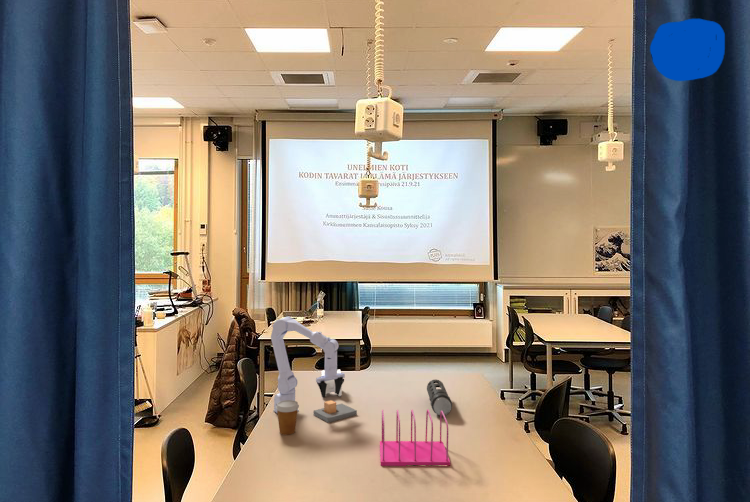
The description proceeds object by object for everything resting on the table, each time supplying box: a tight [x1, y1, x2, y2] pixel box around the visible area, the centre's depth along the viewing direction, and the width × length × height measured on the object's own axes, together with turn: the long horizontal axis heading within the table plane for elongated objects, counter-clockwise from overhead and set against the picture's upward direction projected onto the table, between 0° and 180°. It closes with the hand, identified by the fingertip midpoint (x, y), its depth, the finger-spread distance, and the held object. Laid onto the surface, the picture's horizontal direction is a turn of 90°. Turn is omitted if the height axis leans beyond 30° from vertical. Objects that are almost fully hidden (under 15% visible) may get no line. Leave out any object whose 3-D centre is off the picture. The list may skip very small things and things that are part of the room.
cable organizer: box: [320, 368, 343, 397], centre depth 246 cm, size 15×11×12 cm
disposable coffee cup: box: [276, 400, 299, 436], centre depth 197 cm, size 10×10×12 cm
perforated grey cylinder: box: [426, 379, 453, 417], centre depth 227 cm, size 10×28×10 cm, turn 179°
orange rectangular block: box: [323, 399, 337, 414], centre depth 216 cm, size 4×4×6 cm
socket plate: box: [313, 403, 358, 424], centre depth 217 cm, size 16×12×2 cm
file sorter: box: [379, 408, 451, 467], centre depth 176 cm, size 17×25×16 cm
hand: (330, 395), depth 216 cm, fingers open, 7 cm apart
